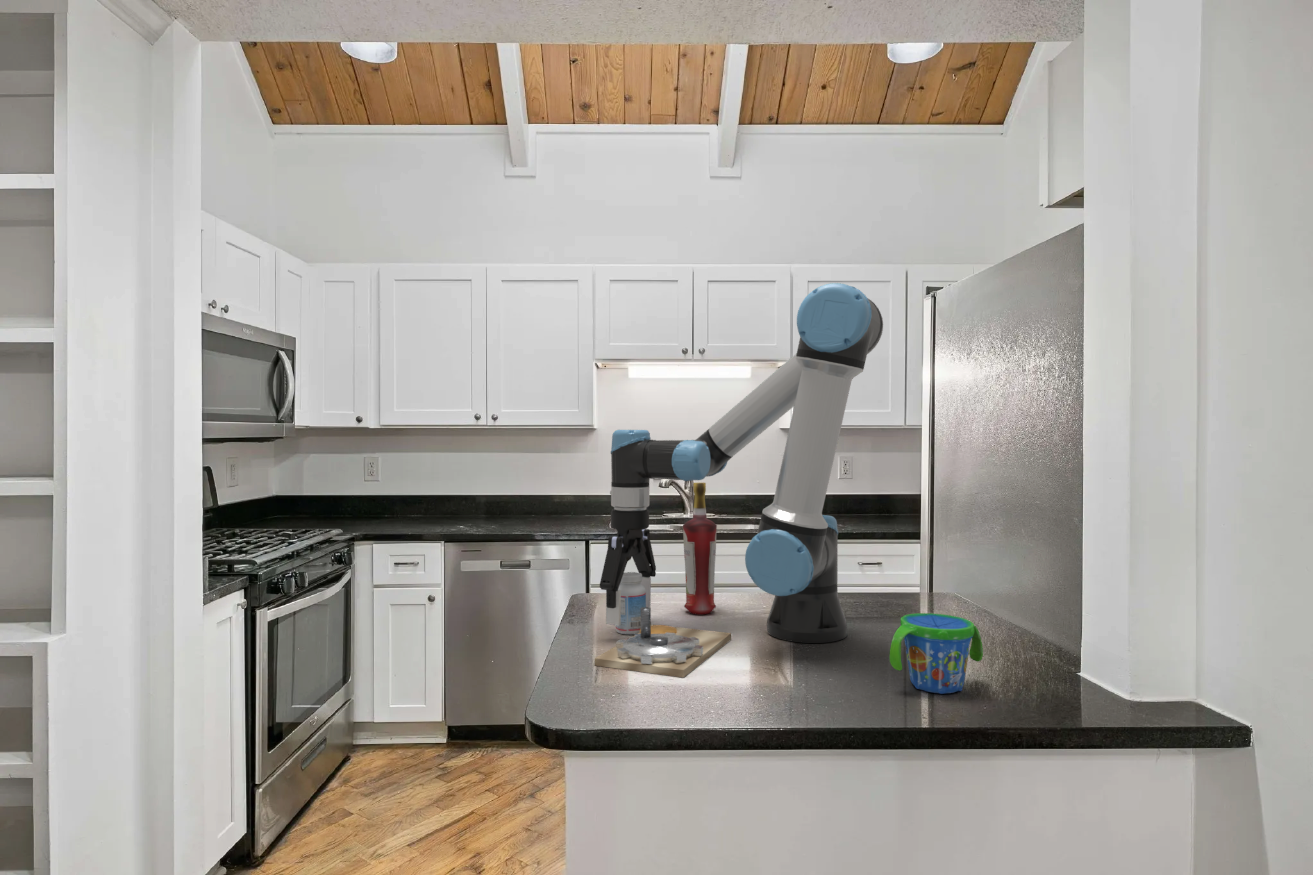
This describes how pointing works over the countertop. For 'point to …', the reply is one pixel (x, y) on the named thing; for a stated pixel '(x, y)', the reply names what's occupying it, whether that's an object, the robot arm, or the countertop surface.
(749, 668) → the countertop surface
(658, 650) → the sprocket disc
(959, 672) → the snack cup
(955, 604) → the countertop surface
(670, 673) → the board
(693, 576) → the liquor
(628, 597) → the pill bottle
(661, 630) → the seat pad
